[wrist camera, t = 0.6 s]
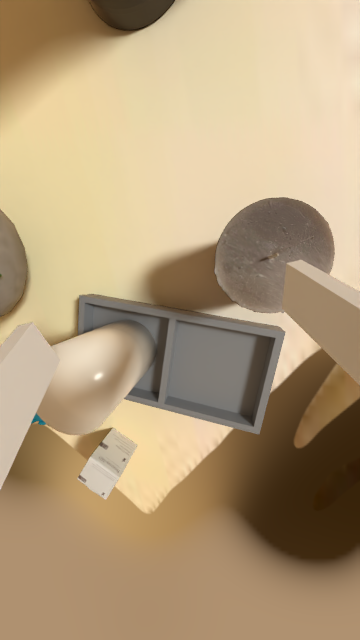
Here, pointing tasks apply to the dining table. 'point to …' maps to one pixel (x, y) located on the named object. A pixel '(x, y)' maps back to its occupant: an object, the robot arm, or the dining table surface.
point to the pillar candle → (270, 250)
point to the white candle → (96, 375)
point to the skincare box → (107, 463)
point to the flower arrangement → (11, 265)
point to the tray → (197, 360)
